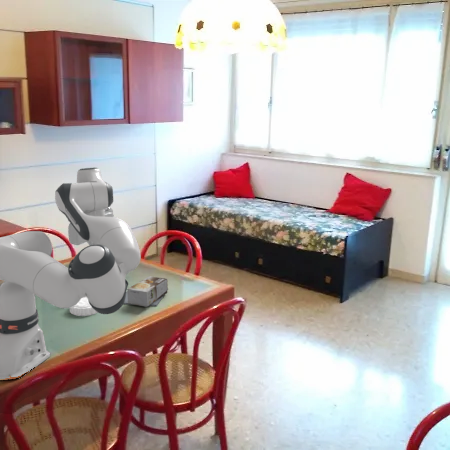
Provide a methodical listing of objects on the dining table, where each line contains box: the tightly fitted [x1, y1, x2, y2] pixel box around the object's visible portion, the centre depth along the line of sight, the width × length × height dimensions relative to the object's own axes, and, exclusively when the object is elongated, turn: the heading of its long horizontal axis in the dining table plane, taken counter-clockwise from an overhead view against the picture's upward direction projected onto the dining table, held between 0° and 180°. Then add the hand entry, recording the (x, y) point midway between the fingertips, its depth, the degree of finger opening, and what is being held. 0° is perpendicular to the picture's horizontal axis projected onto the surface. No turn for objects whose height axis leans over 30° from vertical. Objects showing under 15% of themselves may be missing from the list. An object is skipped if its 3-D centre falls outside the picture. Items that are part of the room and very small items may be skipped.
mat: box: [123, 285, 169, 307], centre depth 211 cm, size 18×16×1 cm
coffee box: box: [126, 276, 169, 308], centre depth 206 cm, size 9×6×16 cm
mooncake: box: [69, 297, 98, 317], centre depth 198 cm, size 12×12×4 cm
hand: (94, 249), depth 187 cm, fingers closed
